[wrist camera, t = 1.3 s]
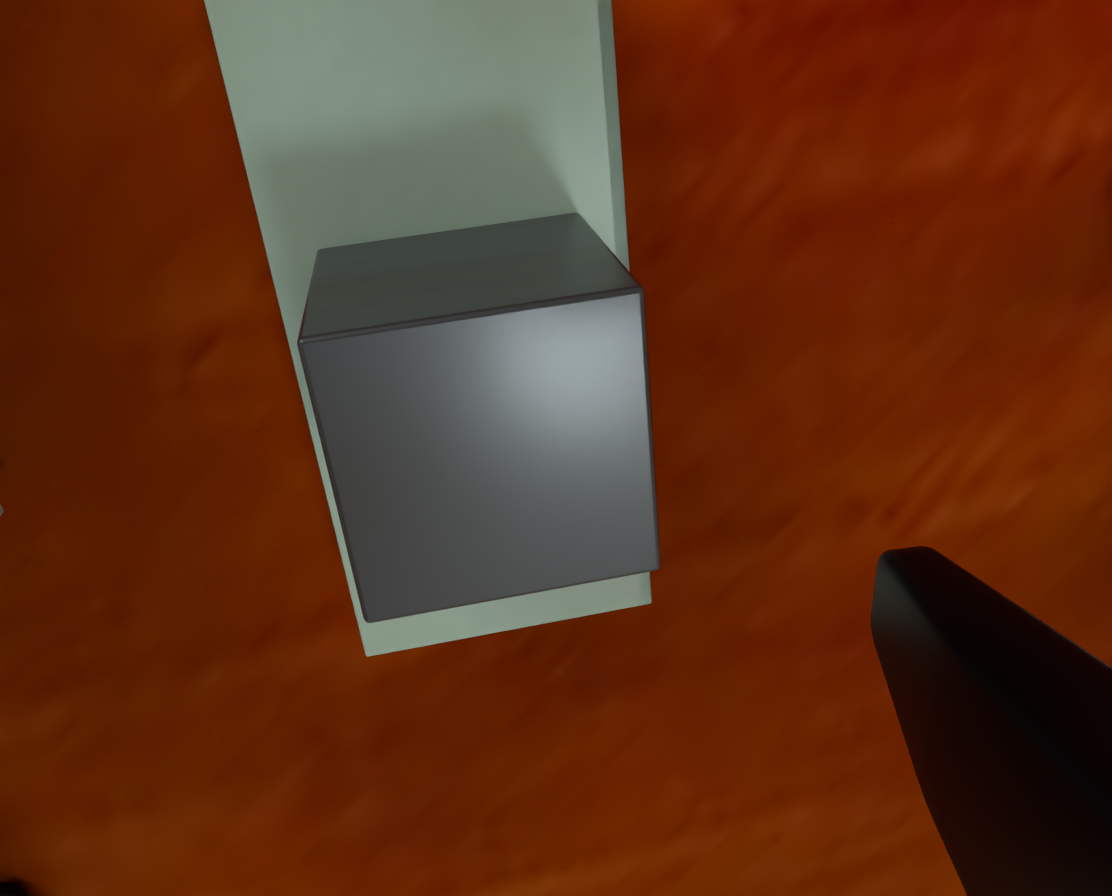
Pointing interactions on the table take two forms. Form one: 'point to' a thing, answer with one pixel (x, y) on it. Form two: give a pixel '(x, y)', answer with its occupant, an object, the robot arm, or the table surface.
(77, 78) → the table surface
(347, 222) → the pocket book
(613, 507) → the block
